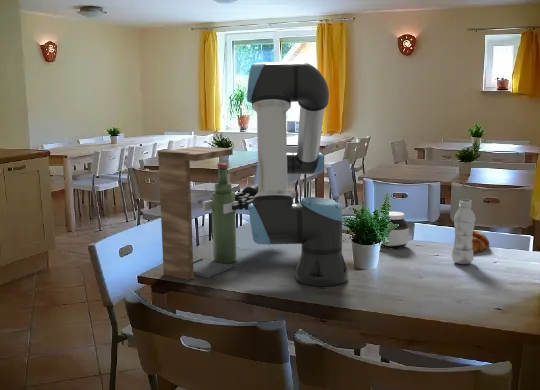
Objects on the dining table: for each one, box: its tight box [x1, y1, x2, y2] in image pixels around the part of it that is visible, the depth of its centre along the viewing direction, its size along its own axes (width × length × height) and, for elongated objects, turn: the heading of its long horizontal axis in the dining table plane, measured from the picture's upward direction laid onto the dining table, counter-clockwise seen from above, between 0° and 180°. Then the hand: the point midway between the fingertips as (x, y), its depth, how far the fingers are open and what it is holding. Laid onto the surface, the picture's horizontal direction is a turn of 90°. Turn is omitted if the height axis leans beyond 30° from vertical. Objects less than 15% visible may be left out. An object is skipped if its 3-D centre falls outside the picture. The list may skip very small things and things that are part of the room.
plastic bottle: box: [451, 199, 476, 265], centre depth 183 cm, size 6×7×20 cm
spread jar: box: [380, 211, 410, 250], centre depth 204 cm, size 12×11×12 cm
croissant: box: [472, 229, 490, 254], centre depth 202 cm, size 21×10×8 cm, turn 143°
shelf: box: [157, 146, 234, 281], centre depth 177 cm, size 17×14×37 cm
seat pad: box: [193, 257, 234, 279], centre depth 182 cm, size 12×13×1 cm
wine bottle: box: [211, 162, 238, 264], centre depth 188 cm, size 7×7×31 cm
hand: (214, 207), depth 183 cm, fingers closed on wine bottle, 7 cm apart
